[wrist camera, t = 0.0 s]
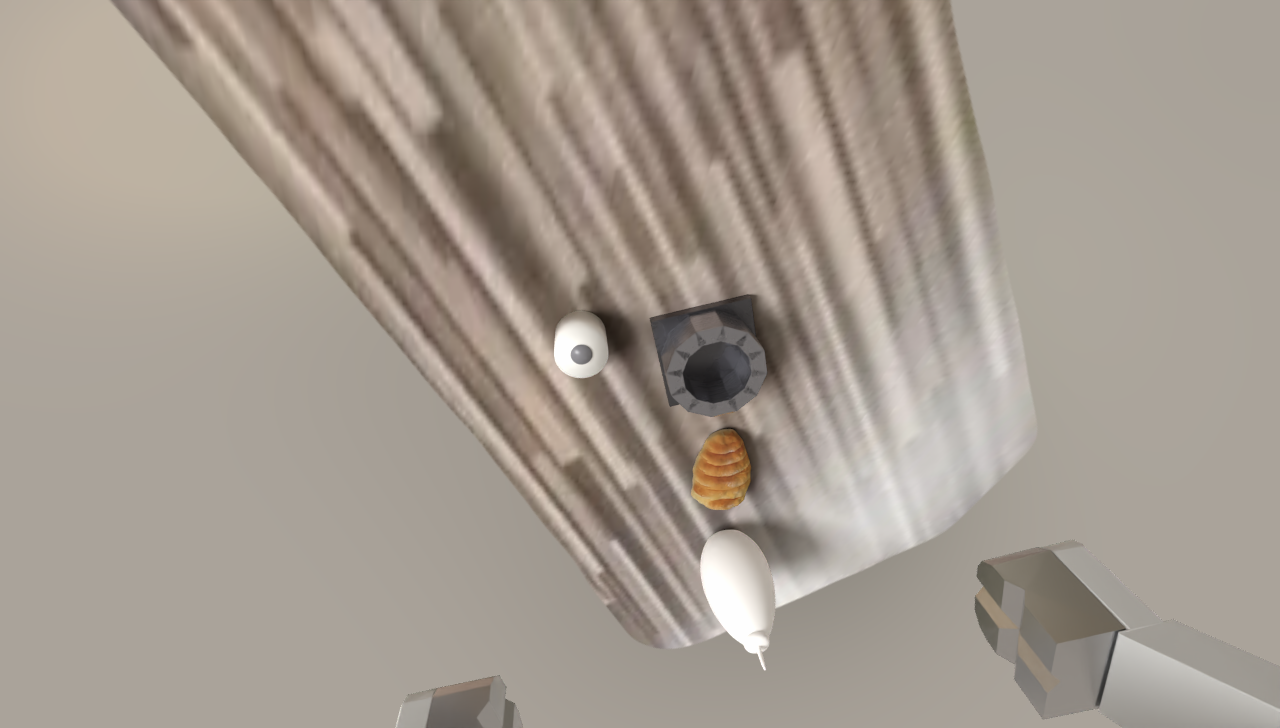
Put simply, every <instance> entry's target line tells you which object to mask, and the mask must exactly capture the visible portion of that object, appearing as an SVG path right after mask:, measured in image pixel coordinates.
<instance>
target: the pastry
mask: <svg viewBox="0 0 1280 728" xmlns="http://www.w3.org/2000/svg"><path fill="white" fill-rule="evenodd" d="M695 461H696V462H695V465H694V467H693V474H694V475H693V487H692V490H691V495H692V497H693V498H694V499H696V500H698V501H699V503H701V504H704V505H705V506H706V507H708V508H710V509H716V510H728V509H730V508H732V507H735V506H738V505H739V504H740V503H741V502H742V501H743V500H744V497H745V494H746V491H747V489H748V486H749V484H750V481H751V479H750V472H751V465H750V461H749V458H748V454H747V452H746V449H745V446H744V443H743V440H742V439H741V437H740V436H739V435H738V434H737V432H736V431H735V430H733V429H722V430H719V431H716V432H714V433H712V434H711V435H710V436H709V437H708V438H707V439H706V441H705V444H704V445H703V448H702V449H701V451H700V452H699V454H698V456H697V457H696V459H695Z"/></svg>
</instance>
